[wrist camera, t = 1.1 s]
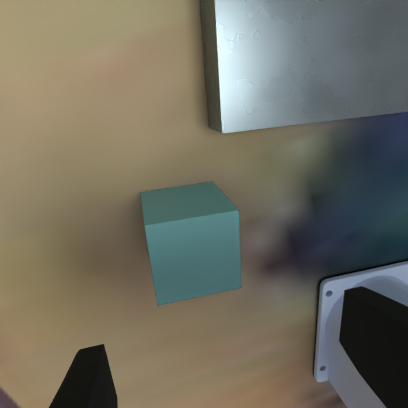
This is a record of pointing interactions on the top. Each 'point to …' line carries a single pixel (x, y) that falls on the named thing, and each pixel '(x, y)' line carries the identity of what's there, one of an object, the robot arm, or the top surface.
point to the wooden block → (191, 241)
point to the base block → (303, 61)
